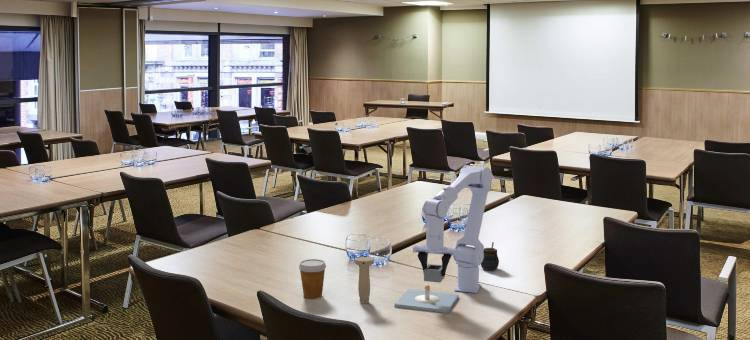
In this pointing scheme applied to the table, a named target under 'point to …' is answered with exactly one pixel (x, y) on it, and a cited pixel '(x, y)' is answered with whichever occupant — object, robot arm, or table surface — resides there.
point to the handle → (364, 277)
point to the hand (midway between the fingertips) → (434, 274)
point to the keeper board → (427, 300)
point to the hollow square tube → (433, 273)
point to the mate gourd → (490, 259)
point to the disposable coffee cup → (312, 277)
